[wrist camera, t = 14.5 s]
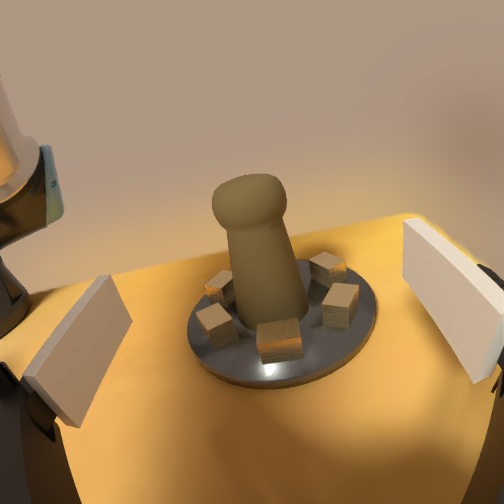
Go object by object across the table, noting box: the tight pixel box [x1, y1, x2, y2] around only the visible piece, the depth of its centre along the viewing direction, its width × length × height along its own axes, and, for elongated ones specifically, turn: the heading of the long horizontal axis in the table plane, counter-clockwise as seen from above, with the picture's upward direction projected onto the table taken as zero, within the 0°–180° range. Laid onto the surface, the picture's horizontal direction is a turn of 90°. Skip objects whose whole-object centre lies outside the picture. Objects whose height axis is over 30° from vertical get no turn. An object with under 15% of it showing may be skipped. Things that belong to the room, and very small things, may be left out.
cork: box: [212, 174, 310, 332], centre depth 22 cm, size 6×6×11 cm
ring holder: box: [187, 251, 375, 389], centre depth 24 cm, size 16×16×3 cm
